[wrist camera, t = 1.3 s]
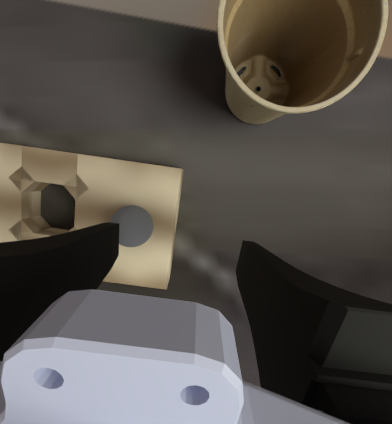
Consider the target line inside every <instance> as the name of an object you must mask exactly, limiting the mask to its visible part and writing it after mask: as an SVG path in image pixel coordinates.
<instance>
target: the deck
mask: <svg viewBox="0 0 392 424" xmlns="http://www.w3.org/2000/svg"><path fill="white" fill-rule="evenodd" d="M183 171H184V170H183V169H179V168H173V167H166V166H159V165H152V164H145V163H138V162H131V161H124V160H117V159H110V158H103V157H96V156H89V155H82V154H76V153H69V152H62V151H55V150H48V149H41V148H34V147H27V146H20V145H13V144H6V143H0V242H11V241H20V240H29V239H36V238H42V237H48V236H53V235H58V234H62V233H66V232H70V231H74V230H78V229H82V228H86V227H89V226H93V225H97V224H101V223H106V222H110V221H111V218H112V216H113V215H114V213H115V212H116V211H117V210H119V209H120V208H122V207H125V206H129V205H134V206H139V207H142V208H143V209H145V210H146V211H147V212H148V213H149V214H150V215H151V217H152V220H153V232H152V235H151V236H150V238H149V239H148V240H147V241H146V242H145V243H144V244H142V245H140V246H137V247H125V246H122V245H120V244H119V256H118V258H117V260H116V261H115V263H114V265H113V267H112V269H111V270H110V272H109V273H108V274H107V276H106V277H105V278H104V280H103V281H105V282H113V283H121V284H128V285H136V286H144V287H152V288H159V289H167V286H168V282H169V278H170V271H171V263H172V256H173V248H174V240H175V232H176V225H177V217H178V209H179V201H180V194H181V186H182V178H183ZM50 183H52V184H59V185H63V186H64V187H65V188H66V189H67V190H68V192H69V193H70V194H71V195H72V196H73V197H74V199H75V220H74V227H73V228H72V229H70V230H66V229H58V228H52V227H51V226H50V225H49V224H48V223H47V222H46V221H45V220H44V218H43V217H42V216H41V191H42V190H43V189H44V188H45V187H47V186H48V185H49V184H50Z"/></svg>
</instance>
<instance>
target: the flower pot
mask: <svg viewBox="0 0 392 424" xmlns="http://www.w3.org/2000/svg"><path fill="white" fill-rule="evenodd" d="M387 19H388V0H220V3H219V8H218V16H217V35H218V44H219V48H220V53H221V56H222V59H223V62H224V65H225V67H226V85H225V95H226V101H227V104H228V106H229V108H230V110H231V111H232V113H233V114H234V115H235V116H236V117H237V118H238V119H240V120H242V121H243V122H246V123H250V124H263V123H266V122H269V121H271V120H273V119H275V118H277V117H280V116H282V115H284V114H286V113H287V114H299V113H307V112H311V111H315V110H318V109H321V108H324V107H326V106H329V105H331V104H332V103H334V102H336V101H338V100H339V99H341V98H342V97H344V96H345V95H346V94H347V93H349V92H350V91H351V90H352V89H353V88H354V87H355V86H356V85H357V84H358V83H359V82H360V81H361V80H362V79H363V77H364V76H365V75H366V74H367V72H368V71H369V70H370V68H371V66H372V65H373V63H374V61H375V59H376V57H377V55H378V53H379V51H380V49H381V45H382V42H383V39H384V35H385V32H386V28H387ZM271 66H274V67H276V68H277V69H278V70H279V71H280V74H281V76H280V77H279V76H278V75H277V74H276V73H275V71H274V70H273V69H272V68H271ZM242 68H246V69H245V70H244V71H243V74H241V75H239V76H238V75H237V73H238V72H239V71H240V70H241V69H242ZM257 87H260V91H257V90H256V88H257ZM277 104H278V105H277Z"/></svg>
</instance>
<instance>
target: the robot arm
mask: <svg viewBox="0 0 392 424" xmlns="http://www.w3.org/2000/svg"><path fill="white" fill-rule="evenodd" d="M119 225H120V224H118V223H111V222H106V223H101V224H97V225H93V226H89V227H86V228H82V229H78V230H74V231H70V232H66V233H62V234H58V235H53V236H48V237H42V238H36V239H29V240H20V241H11V242H0V424H392V304H389V303H385V302H382V301H378V300H375V299H371V298H367V297H364V296H361V295H358V294H355V293H352V292H349V291H346V290H344V289H341V288H338V287H336V286H333V285H331V284H328V283H326V282H323V281H321V280H319V279H317V278H314V277H312V276H310V275H308V274H306V273H304V272H302V271H300V270H298V269H297V268H295V267H293V266H291V265H290V264H288V263H286V262H285V261H283V260H281V259H280V258H278V257H277V256H275V255H274V254H272V253H271V252H269V251H268V250H266V249H265V248H263V247H262V246H260V245H259V244H257V243H255V242H251V241H243V243H242V247H241V251H240V255H239V260H238V264H237V268H236V275H237V282H238V287H239V290H240V294H241V297H242V300H243V303H244V307H245V310H246V313H247V316H248V320H249V323H250V327H251V332H252V337H253V342H254V347H255V353H256V358H257V364H258V370H259V377H260V383H261V387H259V386H257V385H254V384H252V383H249V382H247V381H244V380H242V377H241V371H240V366H239V361H238V355H237V350H236V344H235V339H234V333H233V328H232V325H231V324H230V323H229V322H228V321H227V320H226V318H225V317H224V316H223V315H222V314H221V313H220V312H219V311H218V310H216V309H213V308H210V307H207V306H205V305H202V304H199V303H196V302H188V301H180V300H172V299H165V298H157V297H149V296H141V295H133V294H125V293H118V292H110V291H102V290H96V289H97V288H98V286H99V285H100V284H101V282H102V281H103V280H104V278H105V277H106V276H107V274H108V273H109V272H110V270H111V269H112V267H113V265H114V263H115V261H116V260H117V258H118V256H119Z"/></svg>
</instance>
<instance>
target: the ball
mask: <svg viewBox="0 0 392 424" xmlns="http://www.w3.org/2000/svg"><path fill="white" fill-rule="evenodd" d="M110 222H111V223H118V224H120V225H119V244H120V245H122V246H125V247H137V246H140V245H142V244H144V243H145V242H146V241H147V240H148V239H149V238H150V236H151V235H152V232H153V220H152V217H151V215H150V214H149V213H148V212H147V211H146V210H145V209H143V208H142V207H139V206H134V205H129V206H125V207H122V208H120V209H119V210H117V211H116V212H115V213H114V215H113V216H112V218H111V221H110Z"/></svg>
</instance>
